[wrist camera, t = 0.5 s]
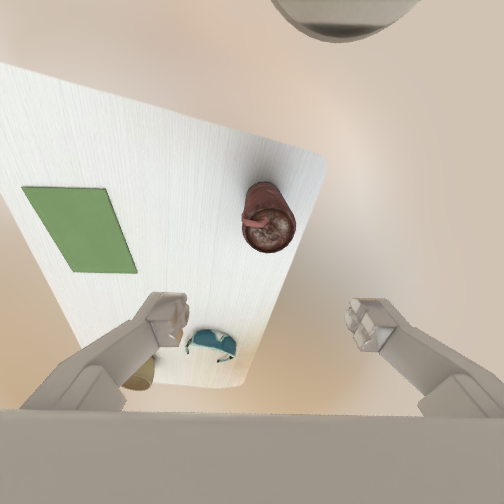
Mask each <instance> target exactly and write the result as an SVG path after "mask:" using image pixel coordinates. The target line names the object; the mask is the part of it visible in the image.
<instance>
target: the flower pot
mask: <svg viewBox="0 0 504 504" xmlns="http://www.w3.org/2000/svg"><path fill="white" fill-rule="evenodd" d="M153 377H154V359H153V357H152V356H151V357H150V358H149V359H148V360H147V361H146V362H145V363H144V364H143V365H142V366H141V367H140V368H139V369H138V370H137V371H136V372H135V373H134V374H133V375H132V376H131V377H130V378H129V379H128V380H127V381H126V382H125V383H124V384H123V385H122V386H121V387H122V388H124V389H127V390H132V391H145V390H148V389H149V388H150V387H151V385H152V382H153Z"/></svg>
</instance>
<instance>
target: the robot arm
mask: <svg viewBox="0 0 504 504" xmlns="http://www.w3.org/2000/svg"><path fill="white" fill-rule="evenodd" d="M186 301H187V296H186V294H185V293H171V292H152V293H151V294H150V295H149V296H148V298H147V299H146V301H145V302H144V303H143V305H142V306H141V308H140V309H139V311H138V312H137V313H136V315H135V316H134V318H133V319H132V320H128V321H126V322H124V323H123V324H121V325H120V326H118V327H116V328H115V329H113V330H112V331H110V332H109V333H107V334H105V335H104V336H102V337H101V338H99V339H97V340H96V341H94V342H93V343H91V344H90V345H88V346H86V347H85V348H83V349H82V350H80V351H78V352H77V353H75V354H74V355H72V356H71V357H69V358H67V359H66V360H64V361H63V362H61V363H60V364H59V365H58V366H57V367H56V368H55V369H54V370H53V372H52V373H51V374H50V375H49V376H48V377H47V378H46V379H45V381H44V382H43V383H42V384H41V385H40V386H39V387H38V388H37V389H36V391H35V392H34V393H33V394H32V395H31V396H30V397H29V398H28V400H27V401H26V402H25V403H24V404H23V405H22V406H21V408H19V409H0V504H504V383H503V382H502V381H500V380H499V379H498V378H497V377H496V376H495V375H494V374H493V373H491V372H490V371H488V370H486V369H485V368H483V367H481V366H480V365H478V364H476V363H475V362H473V361H471V360H469V359H468V358H466V357H465V356H463V355H461V354H460V353H458V352H456V351H455V350H453V349H451V348H450V347H448V346H446V345H445V344H443V343H441V342H439V341H438V340H436V339H434V338H433V337H431V336H429V335H428V334H426V333H424V332H423V331H421V330H419V329H418V328H414V327H412V326H411V325H410V324H409V323H408V322H407V321H406V319H405V318H404V317H403V316H402V315H401V314H400V313H399V312H398V311H397V309H396V308H395V307H394V306H393V305H392V304H391V303H390V301H388V300H387V299H385V298H353V299H352V300H351V301H350V306H351V307H350V308H349V309H347V310H346V313H345V322H346V325H347V327H348V329H349V330H350V331H351V332H353V333H354V336H353V339H354V341H355V343H356V344H357V346H358V348H359V350H360V351H365V352H379V354H380V355H381V356H382V357H383V358H384V359H385V360H386V361H388V362H389V363H390V364H391V365H392V366H393V367H394V368H395V369H396V370H397V371H398V372H399V373H400V374H402V375H403V376H404V377H405V378H406V379H407V380H408V381H409V382H410V383H411V384H412V385H414V386H415V387H416V388H417V389H418V390H419V391H420V392H421V393H422V394H423V395H424V396H425V397H424V398H423V399H422V400H420V401H419V402H418V405H417V406H418V408H419V409H420V411H421V413H422V414H423V416H424V417H408V416H407V417H405V416H404V417H403V416H355V415H354V416H353V415H303V414H250V413H249V414H246V413H194V412H140V411H122V409H123V406H124V405H125V402H126V397H125V395H124V394H123V393H122V391H121V390H120V389H119V388H120V387H121V386H122V385H123V384H124V383H125V382H126V381H127V380H128V379H129V378H130V377H131V376H132V375H133V374H134V373H135V372H136V371H137V370H138V369H139V368H140V367H141V366H142V365H143V364H144V363H145V362H146V361H147V360H148V359H149V358H150V357H151V356H152V355H153V354H154V353H155V352H156V351H157V350H158V349H159V347H178V346H179V343H180V341H181V338H182V336H183V330H182V328H183V327H185V326H186V325H187V322H188V318H189V305H187V304H186Z"/></svg>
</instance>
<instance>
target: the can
mask: <svg viewBox="0 0 504 504" xmlns="http://www.w3.org/2000/svg"><path fill="white" fill-rule="evenodd" d="M242 222H243V223H242V232H243V236H244V238H245V240H246V242H247V243H248V244H249V245H250V246H251V247H252V248H254V249H255V250H257V251H259V252H263V253H275V252H278V251H280V250H282V249H284V248H285V247H286V246H288V244H289V243H290V242H291V240H292V238H293V236H294V234H295V231H296V221H295V218H294V215H293V213H292V211H291V210H290V208H289V206H288V205H287V203H286V201H285V200H284V198H283V196H282V195H281V193H280V191H279V190H278V188H277V187H276V186H275V185H273V184H272V183H270V182H265V181H264V182H258V183H256V184H254V185H253V186H252V187H251V188H250V189H249V190H248V192H247V195H246V200H245V208H244V211H243V213H242Z"/></svg>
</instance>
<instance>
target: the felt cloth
mask: <svg viewBox="0 0 504 504" xmlns="http://www.w3.org/2000/svg"><path fill="white" fill-rule="evenodd" d="M21 188H22V190H23V191H24V193H25V195H26V196H27V198H28V200H29V201H30V203H31V204H32V206H33V208H34V209H35V211H36V213H37V214H38V216H39V217H40V219H41V221H42V222H43V224H44V226H45V227H46V229H47V230H48V232H49V234H50V235H51V237H52V239H53V240H54V242H55V243H56V245H57V247H58V248H59V250H60V252H61V253H62V255H63V256H64V258H65V260H66V261H67V263H68V265H69V266H70V268H71V269H72V271H73V272H87V273H131V274H137V273H138V272H137V270H136V267H135V264H134V262H133V259H132V257H131V254H130V251H129V249H128V246H127V244H126V241H125V238H124V236H123V233H122V231H121V228H120V225H119V223H118V220H117V217H116V215H115V212H114V210H113V207H112V204H111V202H110V199H109V197H108V194H107V191H106V189H83V188H46V187H21Z"/></svg>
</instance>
